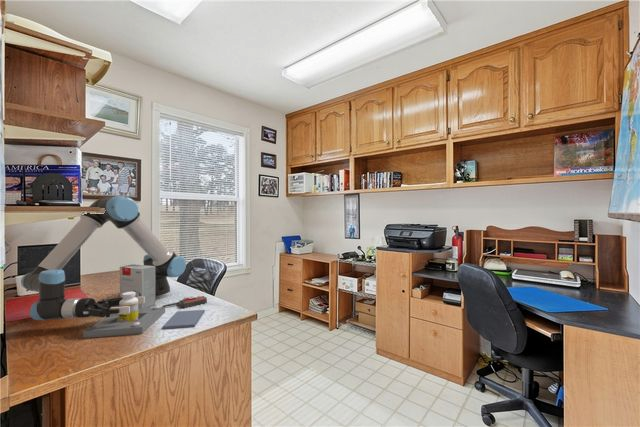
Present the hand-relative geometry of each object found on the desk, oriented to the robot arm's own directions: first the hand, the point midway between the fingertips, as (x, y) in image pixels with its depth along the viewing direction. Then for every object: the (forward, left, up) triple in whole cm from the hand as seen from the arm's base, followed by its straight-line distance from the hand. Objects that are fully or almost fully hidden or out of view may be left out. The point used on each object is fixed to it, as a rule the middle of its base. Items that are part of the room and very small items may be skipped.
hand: (137, 304), depth 118 cm
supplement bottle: (0, -3, -8) cm, 9 cm away
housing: (0, -3, -8) cm, 8 cm away
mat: (0, +19, -8) cm, 20 cm away
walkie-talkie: (-21, +14, -8) cm, 26 cm away
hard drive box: (-25, -10, -8) cm, 28 cm away
